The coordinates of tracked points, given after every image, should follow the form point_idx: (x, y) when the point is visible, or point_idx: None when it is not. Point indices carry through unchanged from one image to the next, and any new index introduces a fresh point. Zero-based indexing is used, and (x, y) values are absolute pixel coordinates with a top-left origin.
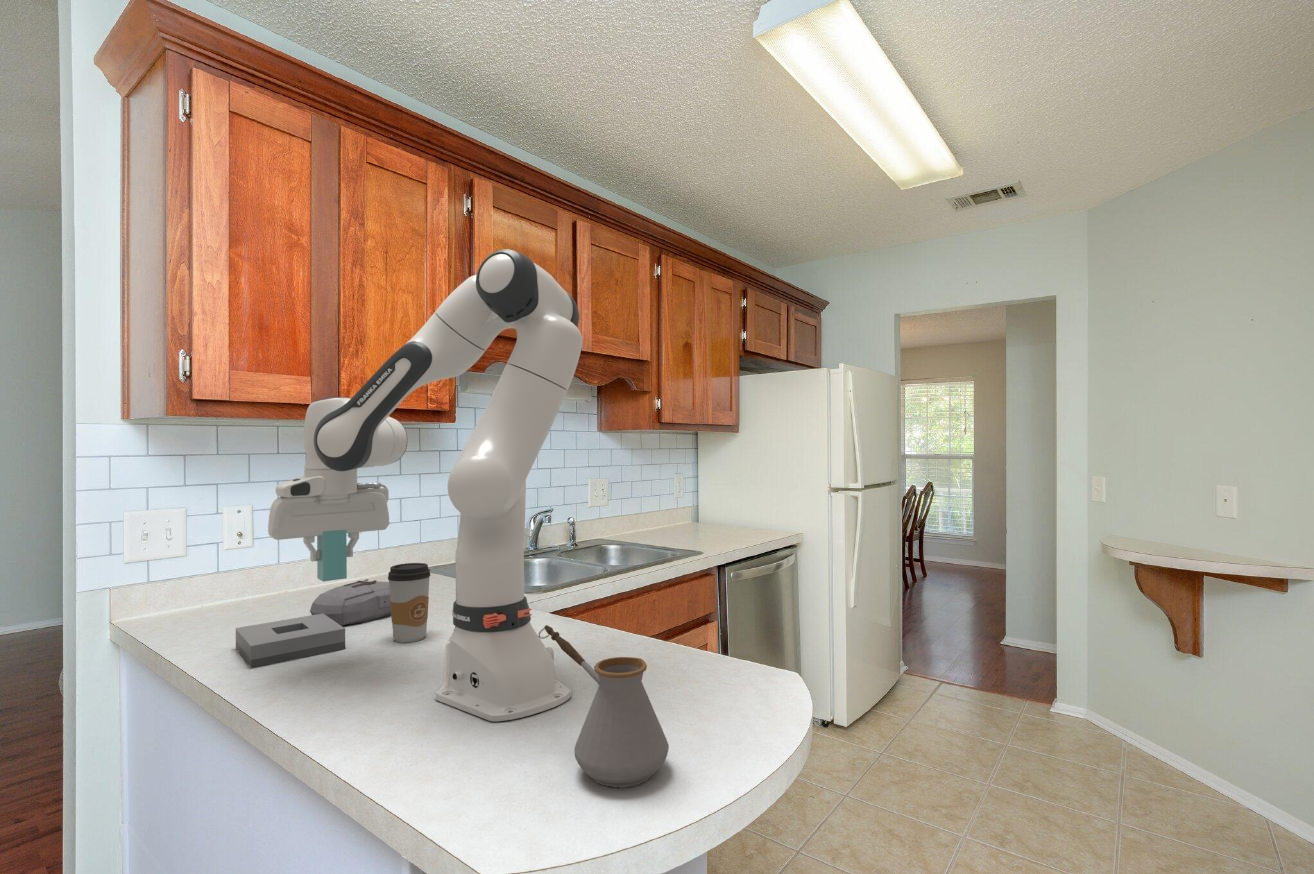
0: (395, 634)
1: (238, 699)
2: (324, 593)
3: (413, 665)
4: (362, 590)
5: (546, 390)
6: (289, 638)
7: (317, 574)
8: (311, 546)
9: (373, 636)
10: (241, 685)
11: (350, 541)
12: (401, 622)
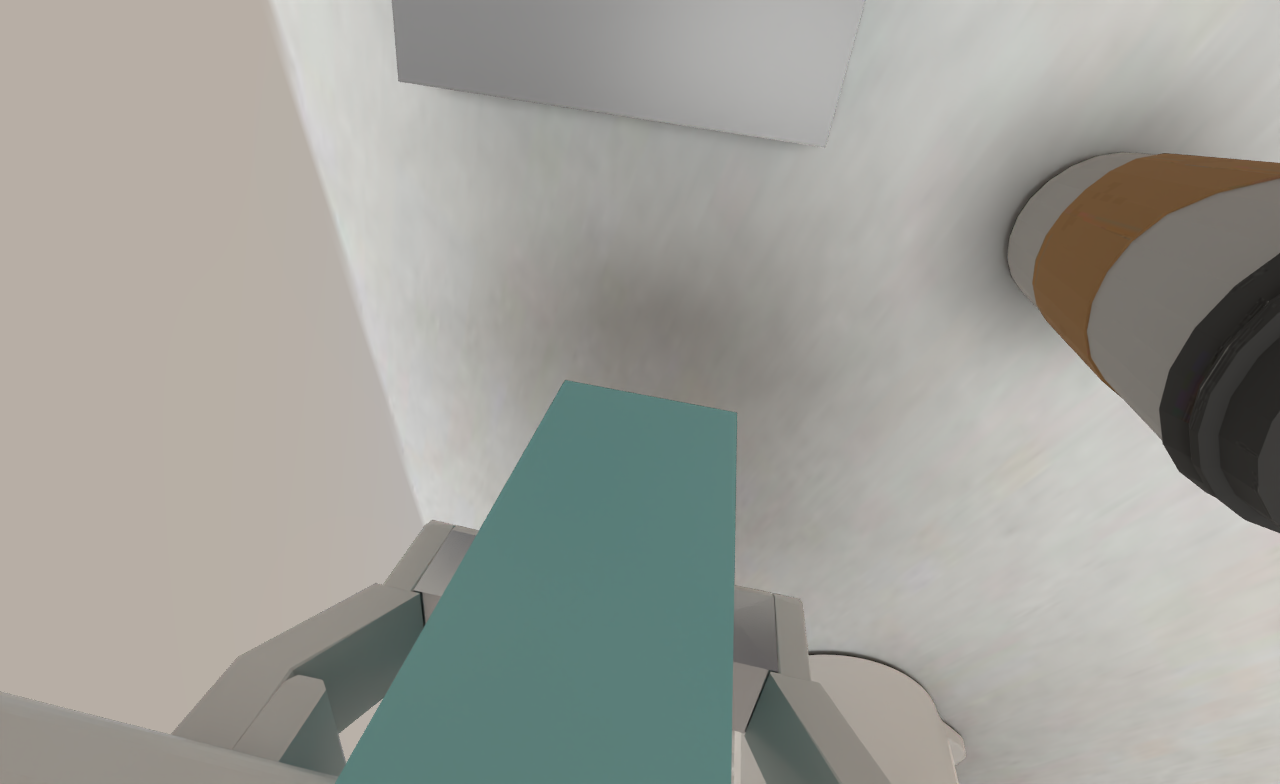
0: (1017, 245)
1: (390, 370)
2: None
3: (828, 507)
4: None
5: None
6: (561, 96)
7: (556, 399)
8: (347, 708)
9: (1042, 18)
10: (403, 261)
11: (802, 771)
12: (1042, 310)
